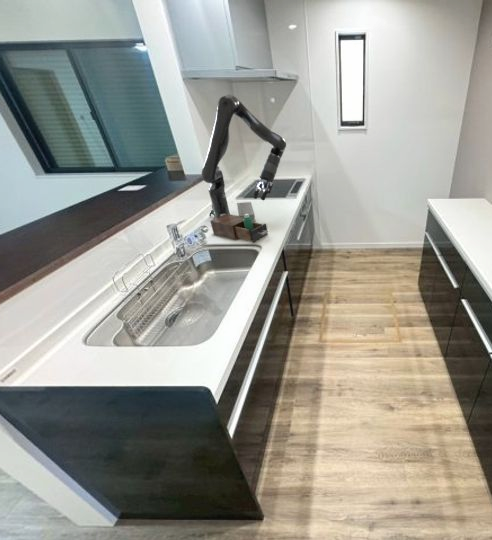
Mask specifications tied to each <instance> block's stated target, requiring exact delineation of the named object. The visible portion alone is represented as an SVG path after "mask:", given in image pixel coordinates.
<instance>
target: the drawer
mask: <svg viewBox="0 0 492 540" xmlns="http://www.w3.org/2000/svg"><path fill="white" fill-rule="evenodd" d="M252 223H253V228H254V229H253V230H251V231H250V230H249V229H245V225H244V222H243V223H241V224H239V225H237V226H234V230H235V234H236V237H237V238H239V239H242V240H246V241H249V242H251V243H252V244H254V243H257V242H258V241H260V240H262V239H264V238H266V237H267V236H269V230H268V226H267V223H259V222H255V221H254V222H252Z"/></svg>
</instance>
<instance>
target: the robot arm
mask: <svg viewBox="0 0 492 540" xmlns="http://www.w3.org/2000/svg"><path fill="white" fill-rule="evenodd" d="M234 115H235V116H236V117H238V118H240V119H241V120H242V121H243V122H244V123H245V124H246V125H247V127H248V128H249V129H250V130H251V131H252V133H254V134H255V135H256V136H257V137H258V138H259V139H261V140H262V142H265V143H268V144H270V145H272V146H271V149H270V152H269V154H268V156H267V158H266V161H265V163H264V164H263V166H262V169H261V172H260V175H259V178H260V180H258V179H257V180H256V181H255V184H254V186H253V191H254V193H253V196H252V199H254V200H257V199H258V197H259V193H260V192H262V191H263V192H262V194H261V196H260V200H261V201H265V200H266V197H267V196H268V195H269V194H271V192H272V189H273V186H274V183H273V182H274V180H275V177H276V175H277V172H278V168H279V167H280V163H281V160H282V157H283V155H284V152H285V150H286V148H287V142H286V140H285V139H284V138H283V137H282V136H281V135H279V134H278V133H276V132H274V131H272V130H271V129H270V128H269V127H267V126H266V125H265V124H264V123H263V122H261V121H260V119H258V118H257V117H256V116H255V115H253V113H252V112H251V111H250V110H249V109H248V108H247V107H246V106H245V105H244V104H243V103H242V101H240V100H239V98H238V97H237V96H235V95H234V94H224V95H222V96H221V97H219V98H218V101H217V107H216V116H215V122H214V125H213V130H212V133H211V137H210V140H209V147H208V149H207V154H206V158H205V160H204V164H203V166H202V168H201V169H202V170H201V178H202V180H203V181H204V182H205V183H207V184H210V186H209V187H208V194H209V198H210V201H211V210H210V212H209V215H208V216H209V217H212V215H213V217H214V219H216V218H218V217H221V216H223V215H226V214H231V213H230V207H229V204H228V199H227V195H226V191H225V187H226V185H225V179H224V173H223V171H222V169H221V168H220V167H219V164H220V162H221V161H222V159H223V157H224V156H225V154H226V152H227V150H228V147H229V144H230V125H231V121H232V118H233V116H234Z"/></svg>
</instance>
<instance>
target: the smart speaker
mask: <svg viewBox="0 0 492 540" xmlns="http://www.w3.org/2000/svg"><path fill="white" fill-rule="evenodd" d="M236 207H237V214H238V216H240V217H245V215H244V214H249V216H250V217H251V218H252V222H255V220H256V215H255V211H254V207H253V204H252V201H246V202H236Z"/></svg>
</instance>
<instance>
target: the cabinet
mask: <svg viewBox="0 0 492 540" xmlns="http://www.w3.org/2000/svg"><path fill="white" fill-rule="evenodd" d="M243 219H244V217H240V216H239V215H235V214H232V213H230V214H226V215H223V216H221V217H218V218H216V219H215V218H214V219H211V220H210V224H211V229H212V232H213V235H214V236H217V237H218V236H219V237H221V238H225V239H229V240H234V241H237V240H239V239H240V238H237V237H236V234H235V230H234V226H237V225H239V224H241V223H243V222H244V221H243Z"/></svg>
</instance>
